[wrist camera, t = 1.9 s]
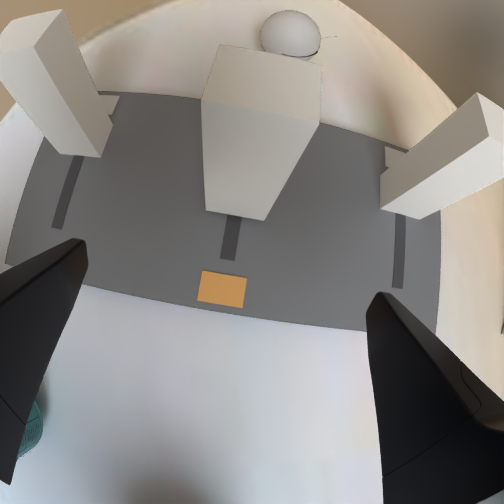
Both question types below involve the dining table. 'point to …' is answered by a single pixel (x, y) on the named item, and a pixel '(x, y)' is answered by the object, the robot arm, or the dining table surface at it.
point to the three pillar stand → (224, 225)
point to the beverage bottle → (32, 431)
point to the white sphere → (291, 35)
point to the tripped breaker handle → (255, 127)
